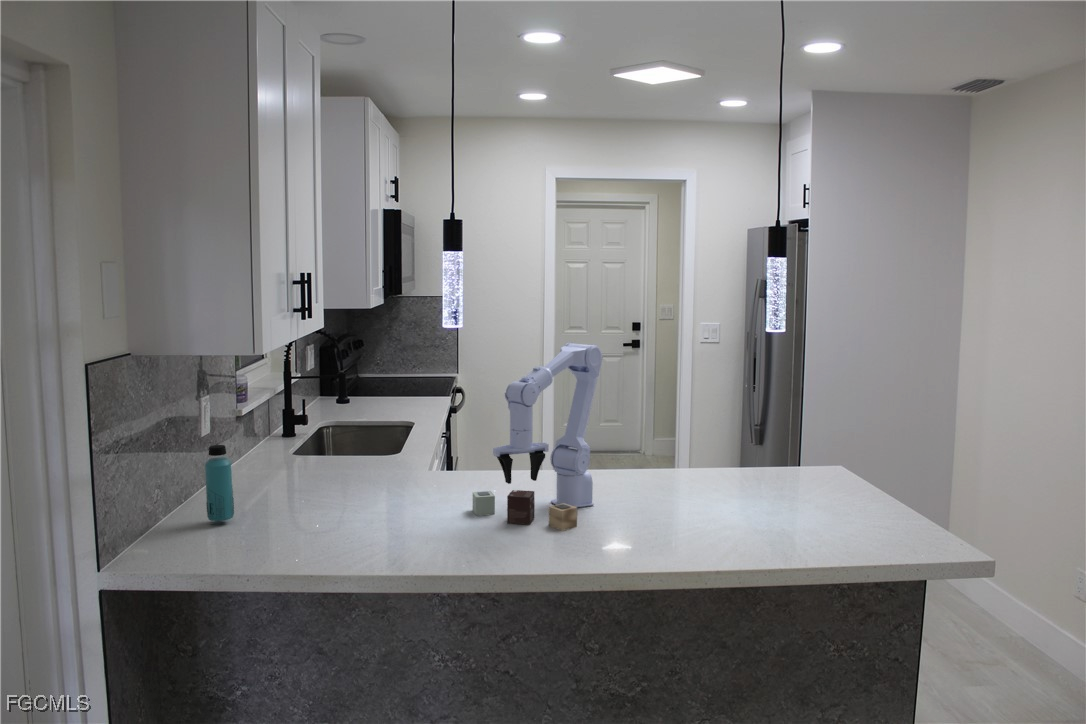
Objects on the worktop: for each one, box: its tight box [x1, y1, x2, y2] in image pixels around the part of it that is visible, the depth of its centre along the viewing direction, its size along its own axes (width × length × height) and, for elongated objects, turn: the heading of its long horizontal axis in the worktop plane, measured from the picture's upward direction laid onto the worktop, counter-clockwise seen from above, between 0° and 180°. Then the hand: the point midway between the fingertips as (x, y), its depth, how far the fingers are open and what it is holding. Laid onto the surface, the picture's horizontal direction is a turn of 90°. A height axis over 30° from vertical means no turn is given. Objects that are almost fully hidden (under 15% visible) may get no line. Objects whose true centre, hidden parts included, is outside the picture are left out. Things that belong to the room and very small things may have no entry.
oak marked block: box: [548, 503, 578, 531], centre depth 215 cm, size 5×5×5 cm
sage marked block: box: [472, 490, 496, 516], centre depth 226 cm, size 5×5×5 cm
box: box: [506, 489, 536, 526], centre depth 219 cm, size 6×6×7 cm
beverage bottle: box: [204, 444, 235, 522], centre depth 215 cm, size 6×7×20 cm
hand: (521, 481), depth 218 cm, fingers open, 6 cm apart
